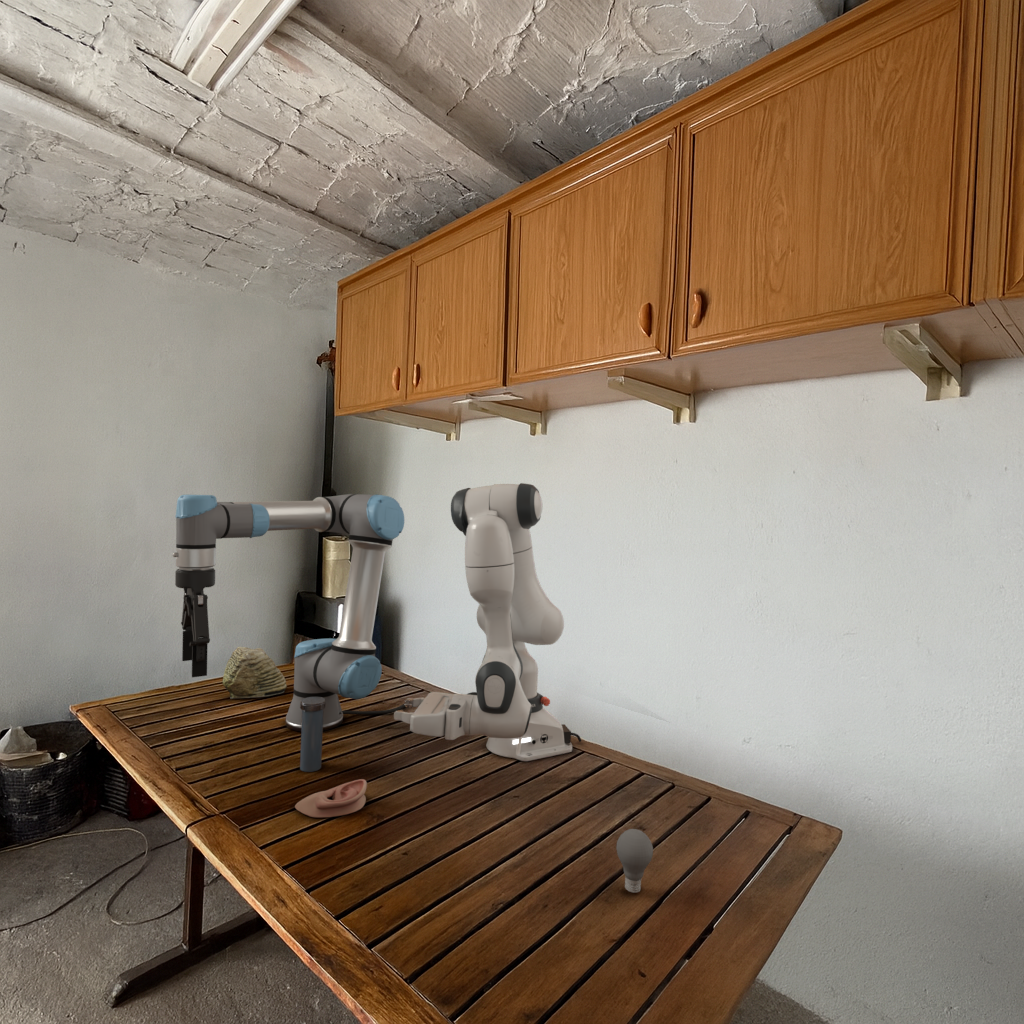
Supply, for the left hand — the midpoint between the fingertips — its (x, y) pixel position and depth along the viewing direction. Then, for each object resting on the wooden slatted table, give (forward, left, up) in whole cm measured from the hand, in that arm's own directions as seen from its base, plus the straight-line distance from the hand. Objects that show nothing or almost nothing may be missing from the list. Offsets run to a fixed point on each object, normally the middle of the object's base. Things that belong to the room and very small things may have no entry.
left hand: (194, 667), depth 134 cm
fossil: (-42, -49, -26) cm, 70 cm away
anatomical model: (-16, +27, -26) cm, 41 cm away
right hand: (-35, +26, -11) cm, 45 cm away
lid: (-24, +8, -11) cm, 27 cm away
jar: (-24, +8, -26) cm, 36 cm away
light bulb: (-33, +87, -26) cm, 97 cm away
